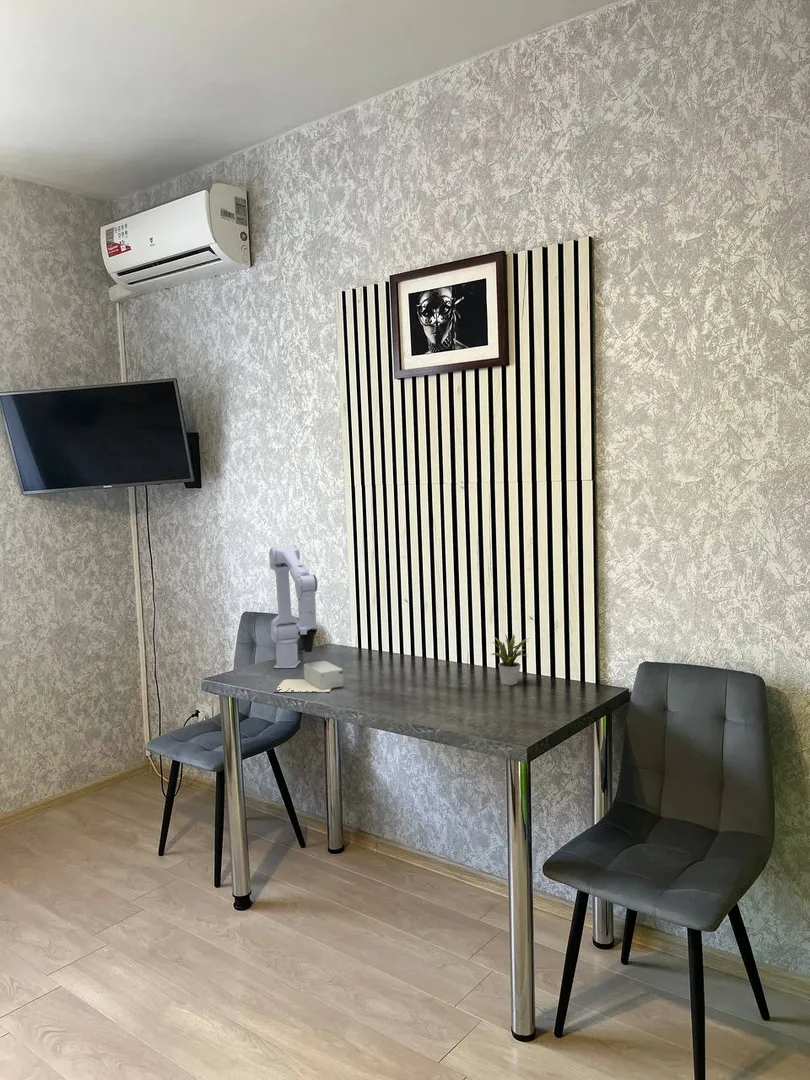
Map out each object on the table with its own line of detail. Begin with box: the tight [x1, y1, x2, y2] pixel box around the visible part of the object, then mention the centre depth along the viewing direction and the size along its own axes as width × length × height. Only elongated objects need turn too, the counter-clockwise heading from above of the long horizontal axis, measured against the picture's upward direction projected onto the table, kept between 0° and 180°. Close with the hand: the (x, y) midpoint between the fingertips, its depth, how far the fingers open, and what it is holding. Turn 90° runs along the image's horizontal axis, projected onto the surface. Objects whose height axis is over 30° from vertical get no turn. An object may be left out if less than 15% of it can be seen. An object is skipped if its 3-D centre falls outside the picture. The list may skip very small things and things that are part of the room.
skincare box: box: [303, 660, 344, 690], centre depth 262 cm, size 8×6×15 cm
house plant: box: [490, 633, 530, 686], centre depth 257 cm, size 14×14×16 cm
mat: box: [276, 678, 333, 693], centre depth 260 cm, size 15×18×1 cm
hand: (308, 651), depth 265 cm, fingers closed
